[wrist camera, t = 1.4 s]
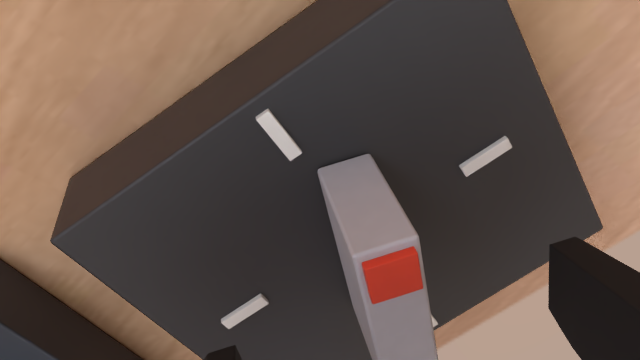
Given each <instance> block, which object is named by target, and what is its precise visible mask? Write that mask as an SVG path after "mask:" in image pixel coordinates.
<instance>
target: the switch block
mask: <svg viewBox="0 0 640 360" xmlns="http://www.w3.org/2000/svg"><path fill="white" fill-rule="evenodd" d="M0 360H142V359H141V358H139V357H138V356H137V355H135V354H134V353H132V352H131V351H129V350H128V349H127V348H125V347H124V346H122V345H121V344H119V343H118V342H117V341H115V340H114V339H112V338H111V337H110V336H108V335H107V334H105V333H104V332H102V331H101V330H100V329H98V328H97V327H95V326H94V325H92V324H91V323H90V322H88V321H87V320H85V319H84V318H83V317H81V316H80V315H78V314H77V313H75V312H74V311H73V310H71V309H70V308H68V307H67V306H66V305H64V304H63V303H61V302H60V301H58V300H57V299H56V298H54V297H53V296H51V295H50V294H48V293H47V292H46V291H44V290H43V289H41V288H40V287H39V286H37V285H36V284H34V283H33V282H31V281H30V280H29V279H27V278H26V277H24V276H23V275H21V274H20V273H19V272H17V271H16V270H14V269H13V268H12V267H10V266H9V265H7V264H6V263H4V262H3V261H2V260H0Z"/></svg>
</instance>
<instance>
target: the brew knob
mask: <svg viewBox="0 0 640 360" xmlns="http://www.w3.org/2000/svg"><path fill="white" fill-rule="evenodd" d="M317 173H318V177H319V180H320V184H321V188H322V192H323V196H324V199H325V203H326V207H327V211H328V214H329V218H330V222H331V226H332V229H333V233H334V237H335V241H336V245H337V248H338V252H339V256H340V260H341V263H342V267H343V271H344V275H345V278H346V282H347V286H348V290H349V293H350V297H351V301H352V305H353V308H354V311H355V314H356V316H357V319H358V322H359V325H360V327H361V330H362V333H363V336H364V338H365V341H366V344H367V347H368V349H369V352H370V355H371V358H372V360H438V356H437V349H436V343H435V336H434V330H433V324H432V317H431V311H430V305H429V298H428V292H427V285H426V279H425V273H424V266H423V260H422V254H421V247H420V241H419V236H418V234H417V232H416V231H415V229H414V227H413V226H412V224H411V222H410V220H409V219H408V217H407V215H406V214H405V212H404V210H403V209H402V207H401V205H400V203H399V202H398V200H397V198H396V197H395V195H394V193H393V192H392V190H391V188H390V187H389V185H388V183H387V181H386V180H385V178H384V176H383V175H382V173H381V171H380V170H379V168H378V166H377V164H376V163H375V161H374V159H373V158H372V156H371V155H370V154H365V155H362V156H358V157H355V158H352V159H348V160H345V161H342V162H338V163H335V164H332V165H329V166H325V167H322V168H319V169H318V172H317Z"/></svg>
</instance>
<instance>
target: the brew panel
mask: <svg viewBox="0 0 640 360" xmlns="http://www.w3.org/2000/svg"><path fill="white" fill-rule="evenodd" d="M365 154H370V155H371V156H372V158H373V159H374V161H375V163H376V164H377V166H378V168H379V170H380V171H381V173H382V175H383V176H384V178H385V180H386V181H387V183H388V185H389V187H390V188H391V190H392V192H393V193H394V195H395V197H396V198H397V200H398V202H399V203H400V205H401V207H402V209H403V210H404V212H405V214H406V215H407V217H408V219H409V220H410V222H411V224H412V226H413V227H414V229H415V231H416V232H417V234H418V236H419V241H420V247H421V254H422V260H423V266H424V273H425V279H426V285H427V292H428V298H429V305H430V311H431V317H432V324H433V330H436V329H437V328H439V327H441V326H442V325H444V324H446V323H447V322H449V321H451V320H452V319H454V318H456V317H457V316H459V315H460V314H462V313H464V312H465V311H467V310H469V309H470V308H472V307H474V306H475V305H477V304H479V303H480V302H482V301H484V300H485V299H487V298H489V297H490V296H492V295H494V294H495V293H497V292H499V291H500V290H502V289H504V288H505V287H507V286H509V285H510V284H512V283H513V282H515V281H517V280H518V279H520V278H522V277H523V276H525V275H527V274H528V273H530V272H532V271H533V270H535V269H537V268H538V267H540V266H542V265H543V264H545V263H547V262H548V261H549V244H553V243H556V242H559V241H562V240H565V239H568V238H571V237H577V238H579V239H581V240H585V239H586V238H588V237H590V236H591V235H593V234H595V233H596V232H598V231H600V230H601V229H602V228H603V226H602V224H601V221H600V219H599V217H598V214H597V212H596V209H595V207H594V205H593V202H592V200H591V198H590V195H589V193H588V191H587V188H586V186H585V183H584V181H583V179H582V176H581V174H580V172H579V169H578V167H577V165H576V162H575V160H574V157H573V155H572V153H571V150H570V148H569V146H568V143H567V141H566V138H565V136H564V134H563V131H562V129H561V127H560V124H559V122H558V120H557V117H556V115H555V112H554V110H553V108H552V105H551V103H550V101H549V98H548V96H547V94H546V91H545V89H544V86H543V84H542V82H541V79H540V77H539V75H538V72H537V70H536V68H535V65H534V63H533V60H532V58H531V56H530V53H529V51H528V49H527V46H526V44H525V42H524V39H523V37H522V34H521V32H520V30H519V27H518V25H517V23H516V20H515V18H514V16H513V13H512V11H511V8H510V6H509V4H508V1H507V0H318V1H316V2H315V3H313V4H312V5H311V6H309V7H308V8H307V9H305V10H304V11H302V12H301V13H300V14H298V15H297V16H295V17H294V18H293V19H291V20H290V21H288V22H287V23H286V24H284V25H283V26H281V27H280V28H279V29H277V30H276V31H275V32H273V33H272V34H270V35H269V36H268V37H266V38H265V39H263V40H262V41H261V42H259V43H258V44H256V45H255V46H254V47H252V48H251V49H250V50H248V51H247V52H245V53H244V54H243V55H241V56H240V57H238V58H237V59H236V60H234V61H233V62H231V63H230V64H229V65H227V66H226V67H225V68H223V69H222V70H220V71H219V72H218V73H216V74H215V75H213V76H212V77H211V78H209V79H208V80H206V81H205V82H204V83H202V84H201V85H199V86H198V87H197V88H195V89H194V90H193V91H191V92H190V93H188V94H187V95H186V96H184V97H183V98H181V99H180V100H179V101H177V102H176V103H174V104H173V105H172V106H170V107H169V108H168V109H166V110H165V111H163V112H162V113H161V114H159V115H158V116H156V117H155V118H154V119H152V120H151V121H149V122H148V123H147V124H145V125H144V126H143V127H141V128H140V129H138V130H137V131H136V132H134V133H133V134H131V135H130V136H129V137H127V138H126V139H124V140H123V141H122V142H120V143H119V144H117V145H116V146H115V147H113V148H112V149H111V150H109V151H108V152H106V153H105V154H104V155H102V156H101V157H99V158H98V159H97V160H95V161H94V162H92V163H91V164H90V165H88V166H87V167H86V168H84V169H83V170H81V171H80V172H79V173H77V174H76V175H74V176H73V177H72V178H70V180H69V183H68V187H67V190H66V193H65V196H64V199H63V202H62V205H61V209H60V212H59V215H58V218H57V221H56V224H55V227H54V231H53V234H52V237H51V240H50V241H51V243H52V244H53V245H55V246H56V247H57V248H58V249H60V250H61V251H62V252H64V253H65V254H66V255H68V256H69V257H70V258H71V259H73V260H74V261H75V262H77V263H78V264H79V265H81V266H82V267H83V268H85V269H86V270H87V271H88V272H90V273H91V274H92V275H94V276H95V277H96V278H98V279H99V280H100V281H101V282H103V283H104V284H105V285H107V286H108V287H109V288H111V289H112V290H113V291H114V292H116V293H117V294H118V295H120V296H121V297H122V298H124V299H125V300H126V301H127V302H129V303H130V304H131V305H133V306H134V307H135V308H137V309H138V310H139V311H141V312H142V313H143V314H144V315H146V316H147V317H148V318H150V319H151V320H152V321H154V322H155V323H156V324H157V325H159V326H160V327H161V328H163V329H164V330H165V331H167V332H168V333H169V334H170V335H172V336H173V337H174V338H176V339H177V340H178V341H180V342H181V343H182V344H184V345H185V346H186V347H187V348H189V349H190V350H191V351H193V352H194V353H195V354H197V355H198V356H199V357H200V358H202V359H203V360H204V358H205V357H206V355H207V354H208V353H211V352H214V351H217V350H220V349H223V348H226V347H229V346H233V345H236V347H237V350H238V352H239V354H240V356H241V358H242V360H372V358H371V355H370V352H369V349H368V347H367V344H366V341H365V338H364V336H363V333H362V330H361V327H360V325H359V322H358V319H357V316H356V314H355V311H354V308H353V305H352V301H351V297H350V293H349V290H348V286H347V282H346V278H345V275H344V271H343V267H342V263H341V260H340V256H339V252H338V248H337V245H336V241H335V237H334V233H333V229H332V226H331V222H330V218H329V214H328V211H327V207H326V203H325V199H324V196H323V192H322V188H321V184H320V180H319V177H318V173H317V172H318V169H319V168H322V167H325V166H329V165H332V164H335V163H338V162H342V161H345V160H348V159H352V158H355V157H358V156H362V155H365Z"/></svg>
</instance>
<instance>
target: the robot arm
mask: <svg viewBox="0 0 640 360" xmlns="http://www.w3.org/2000/svg"><path fill="white" fill-rule="evenodd" d="M549 310H550V311H551V313H552V315H553V316H554V318H555V320H556V321H557V323H558V325H559V327H560V328H561V330H562V332H563V333H564V335H565V336H566V338H567V339H568V341H569V343H570V344H571V346H572V348H573V349H574V350H575V351H576V353H577V354H578V355H579V357H580V358H581V359H582V360H640V272H638V271H636V270H634V269H632V268H631V267H629V266H627V265H625V264H623V263H622V262H620V261H618V260H616V259H614V258H613V257H611V256H609V255H607V254H606V253H604V252H602V251H600V250H599V249H597V248H595V247H593V246H592V245H590V244H588V243H586V242H585V241H583V240H581V239H579V238H577V237H571V238H568V239H565V240H562V241H559V242H556V243H553V244H549ZM204 360H242V358H241V356H240V354H239V352H238V350H237V347H236V345H233V346H229V347H226V348H223V349H220V350H217V351H214V352H211V353H208V354H207V355H206V357H205V358H204Z"/></svg>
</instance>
